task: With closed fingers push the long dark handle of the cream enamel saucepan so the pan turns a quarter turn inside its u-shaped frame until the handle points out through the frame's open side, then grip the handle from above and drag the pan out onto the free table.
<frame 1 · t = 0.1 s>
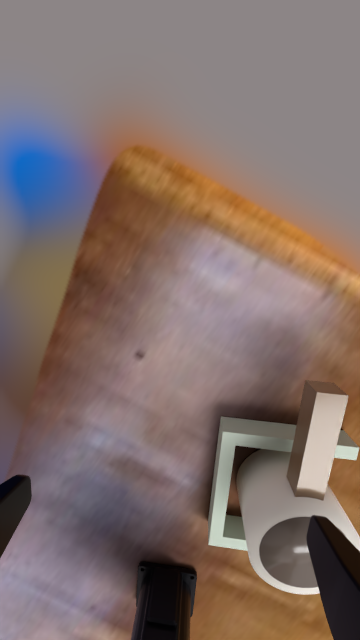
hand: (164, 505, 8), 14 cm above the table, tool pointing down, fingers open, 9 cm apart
saucepan: (277, 479, 24), on the table
u-shaped frame: (277, 480, 24), on the table
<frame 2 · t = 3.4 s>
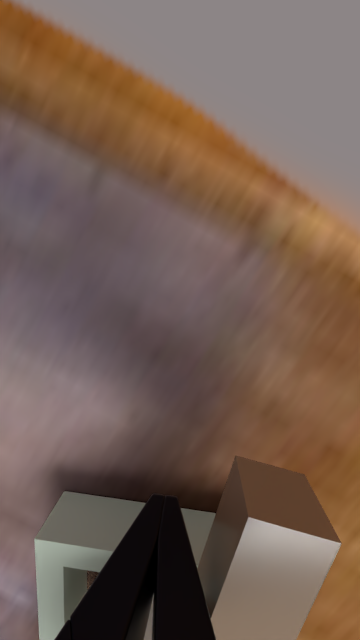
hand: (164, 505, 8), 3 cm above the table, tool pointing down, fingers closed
saucepan: (176, 605, 13), on the table, touching gripper
u-shaped frame: (178, 604, 13), on the table
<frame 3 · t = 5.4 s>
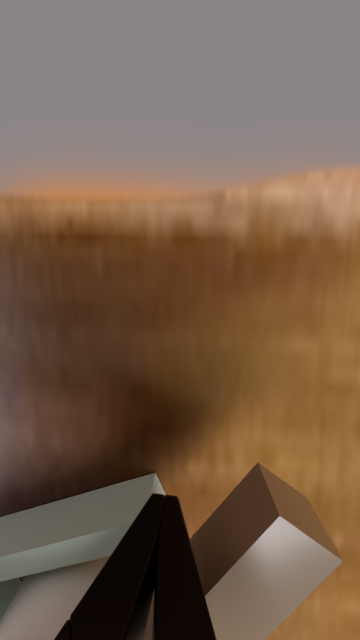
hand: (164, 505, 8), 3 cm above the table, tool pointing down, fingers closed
saucepan: (104, 590, 13), on the table, tilted 5°, touching gripper
u-shaped frame: (115, 591, 13), on the table
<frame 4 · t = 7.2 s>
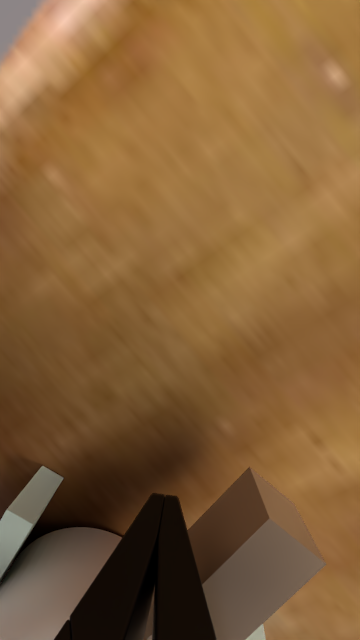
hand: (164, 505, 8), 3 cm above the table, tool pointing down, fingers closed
saucepan: (86, 589, 13), on the table, tilted 7°, touching gripper
u-shaped frame: (105, 588, 13), on the table
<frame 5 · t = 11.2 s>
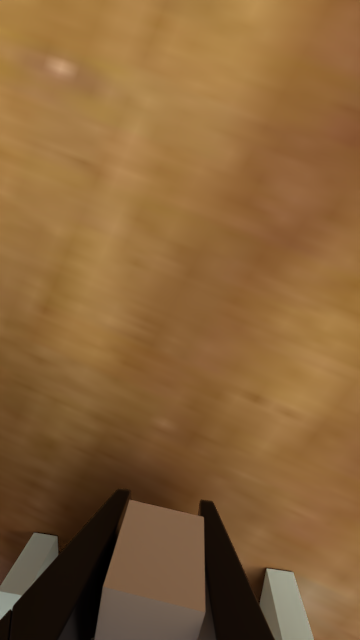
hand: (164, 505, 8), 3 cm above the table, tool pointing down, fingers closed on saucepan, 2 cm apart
saucepan: (136, 626, 13), on the table, touching gripper
u-shaped frame: (153, 627, 12), on the table
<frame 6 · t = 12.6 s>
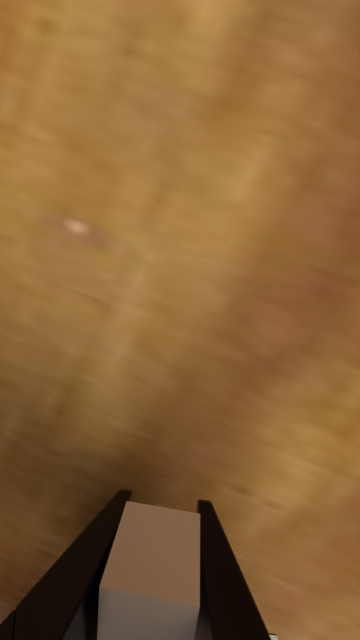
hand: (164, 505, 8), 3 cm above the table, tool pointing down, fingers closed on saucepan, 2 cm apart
saucepan: (153, 622, 13), on the table, touching gripper
when the fingers open (3 cm above the table, at t = 13.8 s): saucepan stays where it is, on the table.
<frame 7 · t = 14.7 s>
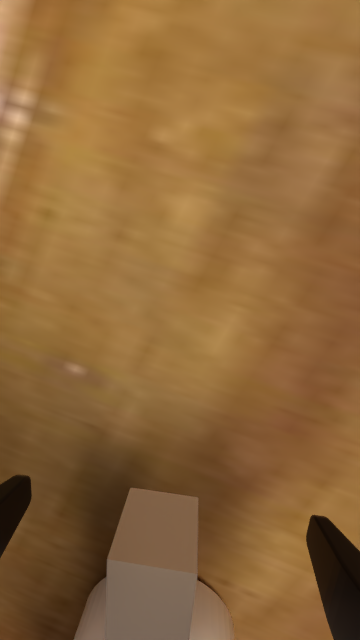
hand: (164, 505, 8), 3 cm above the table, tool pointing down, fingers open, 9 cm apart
saucepan: (158, 616, 13), on the table
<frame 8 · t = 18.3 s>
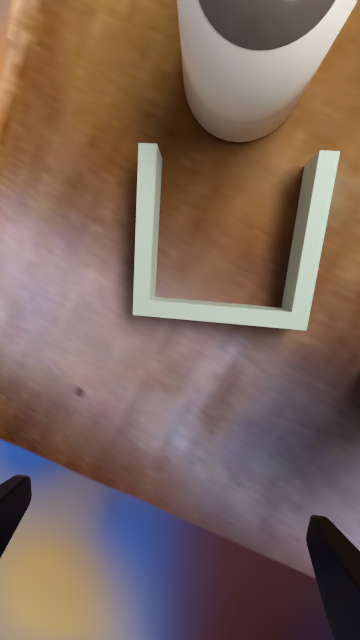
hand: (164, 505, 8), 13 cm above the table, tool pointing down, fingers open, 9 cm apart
saucepan: (243, 77, 16), on the table
u-shaped frame: (224, 236, 18), on the table
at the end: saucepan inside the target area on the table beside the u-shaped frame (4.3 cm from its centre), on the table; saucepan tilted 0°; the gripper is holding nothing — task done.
